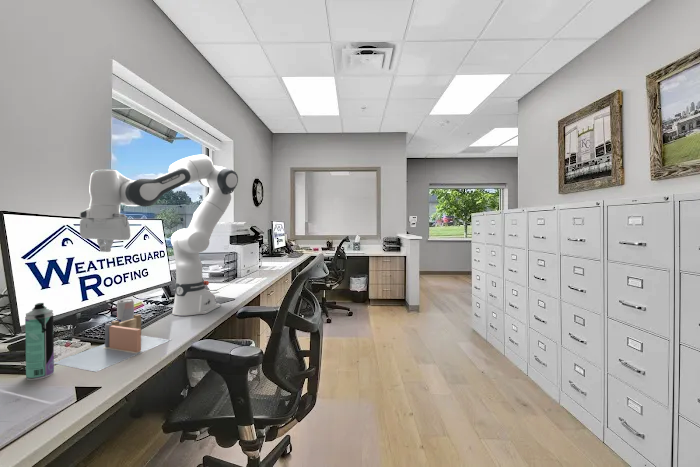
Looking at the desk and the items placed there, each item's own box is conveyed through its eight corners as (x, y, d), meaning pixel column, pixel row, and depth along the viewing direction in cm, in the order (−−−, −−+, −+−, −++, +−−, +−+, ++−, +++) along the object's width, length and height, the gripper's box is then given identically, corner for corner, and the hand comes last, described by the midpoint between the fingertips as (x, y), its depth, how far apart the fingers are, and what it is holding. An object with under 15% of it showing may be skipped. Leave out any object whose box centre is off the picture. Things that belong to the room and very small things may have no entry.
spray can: (58, 373, 89) (58, 302, 89) (34, 382, 84) (32, 306, 83) (46, 370, 91) (45, 300, 90) (21, 379, 86) (20, 304, 85)
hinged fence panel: (103, 346, 107) (103, 324, 106) (109, 345, 108) (109, 323, 108) (136, 352, 103) (136, 329, 103) (141, 350, 105) (141, 327, 104)
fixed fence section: (137, 335, 118) (137, 314, 118) (141, 336, 118) (141, 314, 118) (111, 345, 109) (111, 321, 109) (114, 345, 109) (114, 322, 108)
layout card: (132, 335, 120) (132, 333, 120) (171, 341, 115) (171, 339, 115) (50, 364, 95) (50, 362, 95) (95, 373, 90) (95, 371, 90)
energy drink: (122, 329, 126) (122, 299, 126) (137, 329, 126) (136, 298, 126) (113, 334, 121) (113, 302, 120) (128, 334, 121) (128, 302, 121)
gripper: (135, 214, 117) (135, 252, 117) (93, 213, 123) (94, 250, 123) (118, 213, 111) (118, 253, 111) (75, 213, 117) (76, 251, 117)
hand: (105, 251), depth 117 cm, fingers closed
